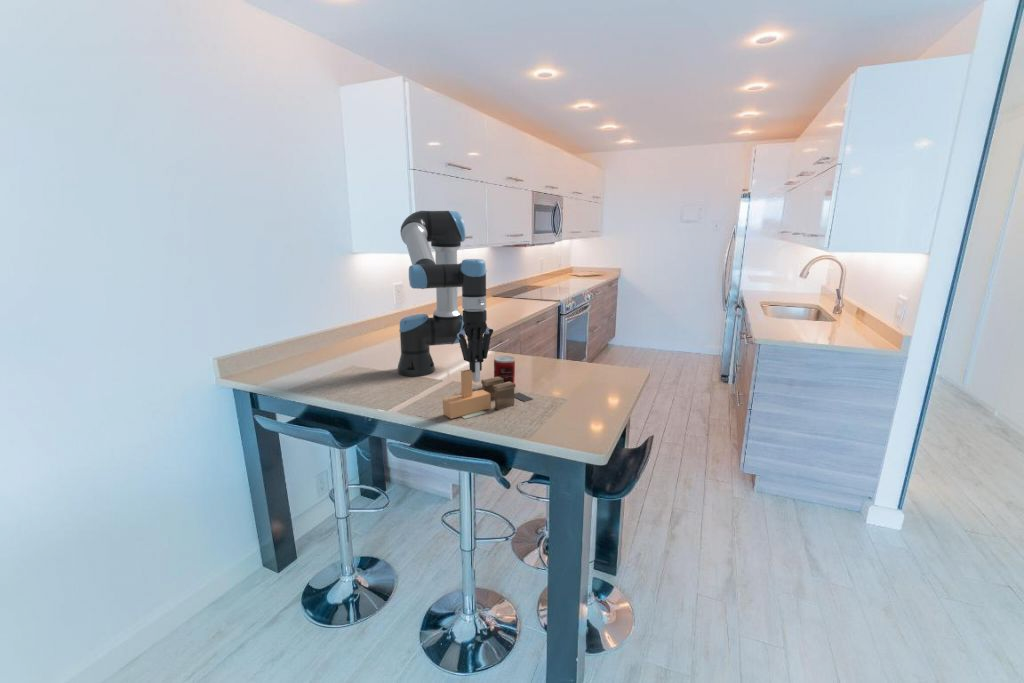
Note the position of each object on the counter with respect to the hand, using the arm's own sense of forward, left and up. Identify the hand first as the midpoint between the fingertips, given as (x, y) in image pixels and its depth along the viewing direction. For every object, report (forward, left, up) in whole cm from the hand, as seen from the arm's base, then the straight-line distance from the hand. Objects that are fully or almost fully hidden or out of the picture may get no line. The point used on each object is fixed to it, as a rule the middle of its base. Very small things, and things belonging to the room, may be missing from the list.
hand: (475, 380), depth 151 cm
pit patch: (0, +19, -10) cm, 21 cm away
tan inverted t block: (0, -4, -10) cm, 11 cm away
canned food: (-13, +21, -10) cm, 27 cm away
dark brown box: (0, +9, -10) cm, 13 cm away
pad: (0, -3, -10) cm, 10 cm away
